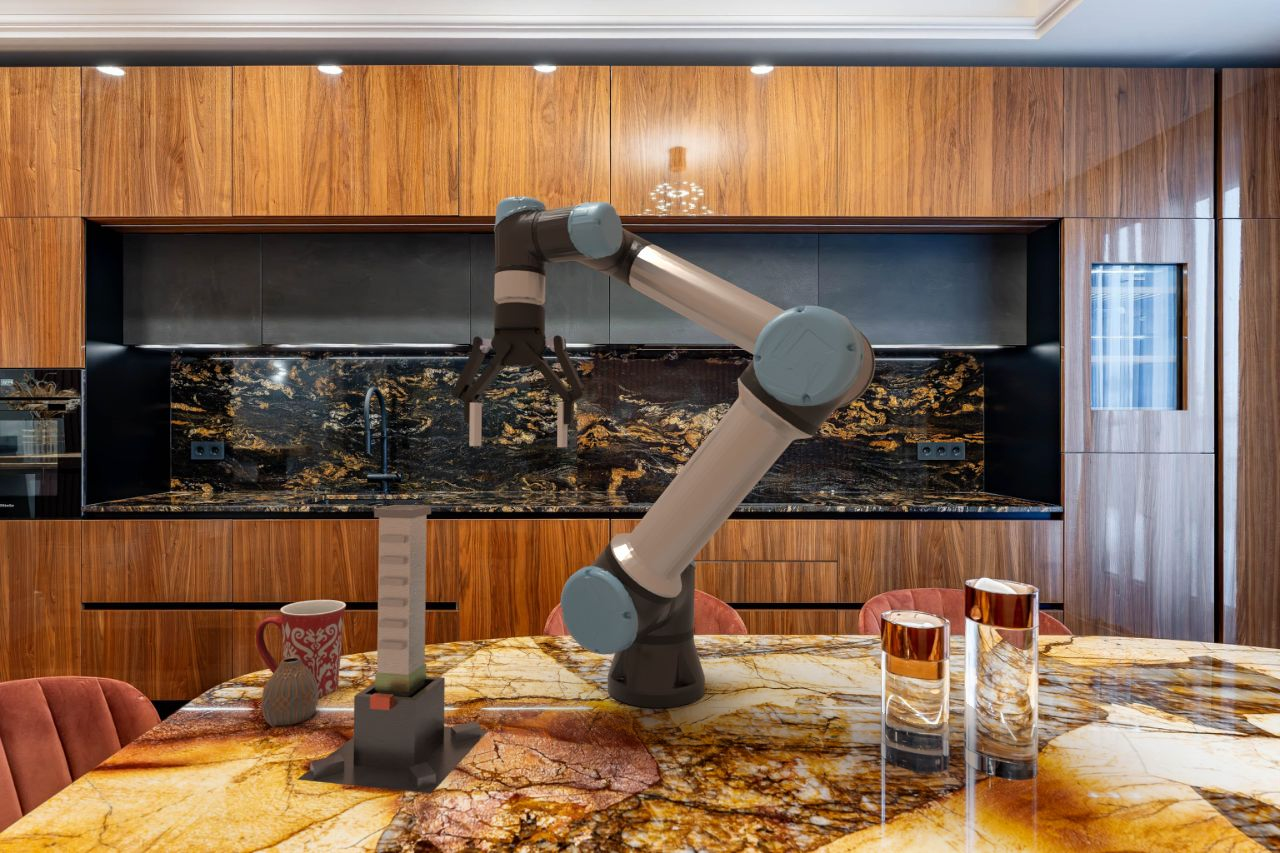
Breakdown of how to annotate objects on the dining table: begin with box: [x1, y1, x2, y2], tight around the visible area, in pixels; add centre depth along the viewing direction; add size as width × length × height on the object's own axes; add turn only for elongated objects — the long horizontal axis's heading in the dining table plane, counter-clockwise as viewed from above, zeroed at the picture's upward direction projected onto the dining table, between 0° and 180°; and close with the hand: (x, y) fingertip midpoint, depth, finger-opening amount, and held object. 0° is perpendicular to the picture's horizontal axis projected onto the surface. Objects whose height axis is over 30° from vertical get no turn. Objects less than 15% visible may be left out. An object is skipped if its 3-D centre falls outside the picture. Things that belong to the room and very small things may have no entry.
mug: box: [255, 599, 347, 701], centre depth 104 cm, size 13×9×14 cm
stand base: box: [297, 675, 489, 794], centre depth 84 cm, size 16×16×10 cm
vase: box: [261, 657, 319, 728], centre depth 94 cm, size 7×7×9 cm
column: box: [373, 504, 432, 697], centre depth 84 cm, size 5×5×22 cm
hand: (518, 446), depth 103 cm, fingers open, 13 cm apart
